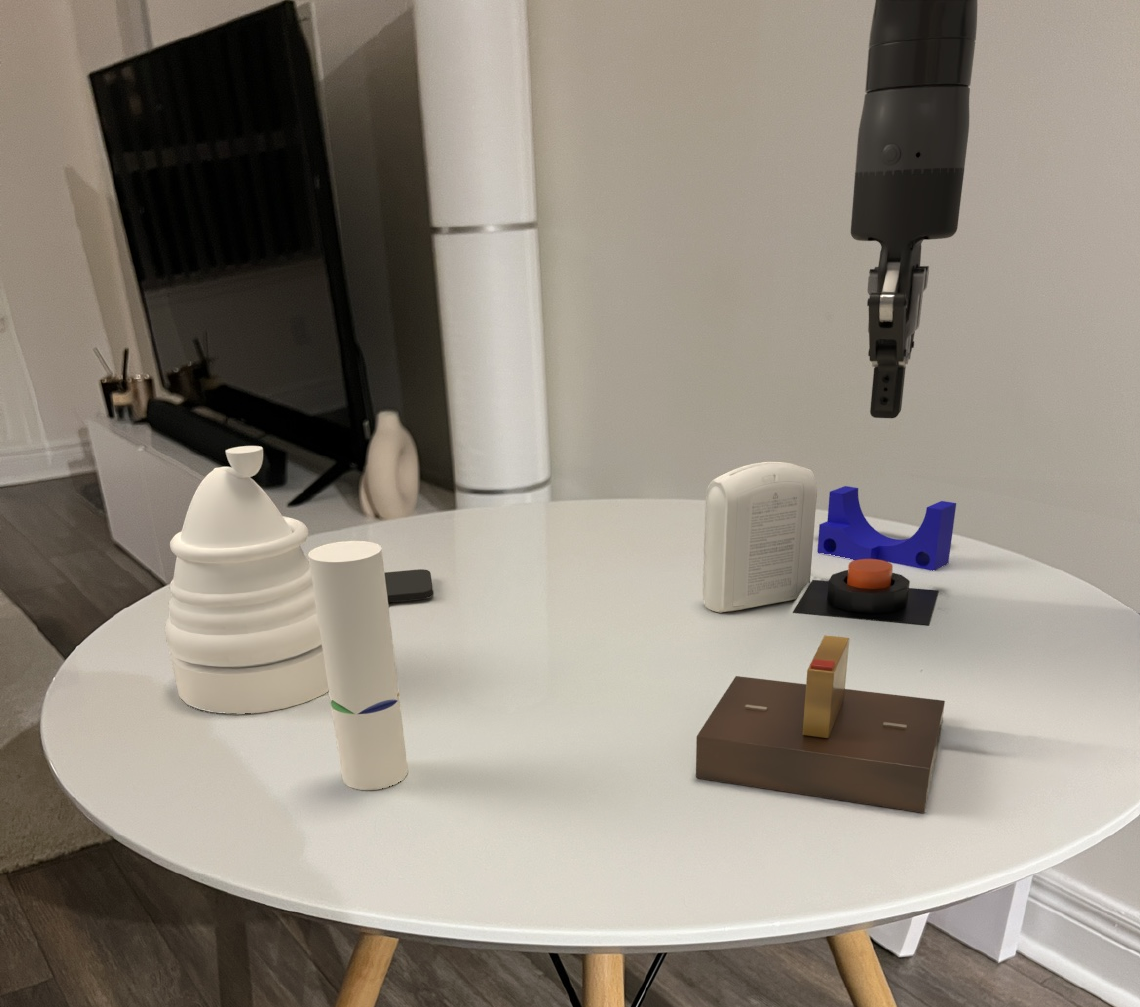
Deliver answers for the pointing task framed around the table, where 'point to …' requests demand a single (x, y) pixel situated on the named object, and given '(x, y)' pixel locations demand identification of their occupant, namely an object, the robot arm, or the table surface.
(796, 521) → the photo printer
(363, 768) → the tube
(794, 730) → the plate
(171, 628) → the honey pot
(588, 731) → the table surface
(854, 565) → the button
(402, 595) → the phone
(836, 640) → the lock knob
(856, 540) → the blue u-shaped cradle
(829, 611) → the button block
